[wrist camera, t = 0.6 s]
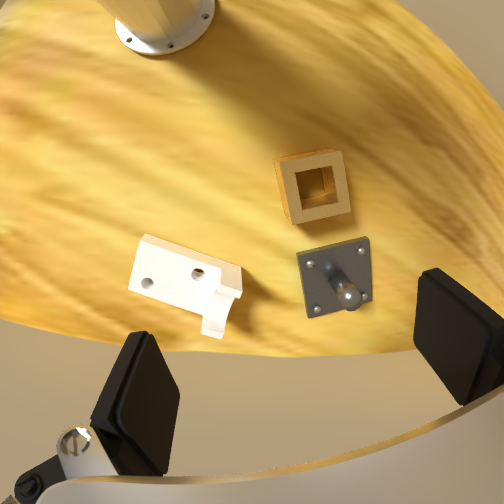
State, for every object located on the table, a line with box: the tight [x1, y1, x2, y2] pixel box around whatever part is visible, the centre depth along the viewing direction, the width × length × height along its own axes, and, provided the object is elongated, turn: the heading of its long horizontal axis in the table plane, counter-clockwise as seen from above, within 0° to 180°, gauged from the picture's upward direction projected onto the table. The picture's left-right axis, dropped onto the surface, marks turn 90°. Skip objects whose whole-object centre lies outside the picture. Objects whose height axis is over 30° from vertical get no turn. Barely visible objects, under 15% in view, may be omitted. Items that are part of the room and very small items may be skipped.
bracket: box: [128, 234, 243, 339], centre depth 36 cm, size 13×7×8 cm, turn 68°
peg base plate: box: [296, 236, 372, 318], centre depth 38 cm, size 10×10×7 cm
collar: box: [273, 149, 351, 225], centre depth 34 cm, size 7×7×5 cm
